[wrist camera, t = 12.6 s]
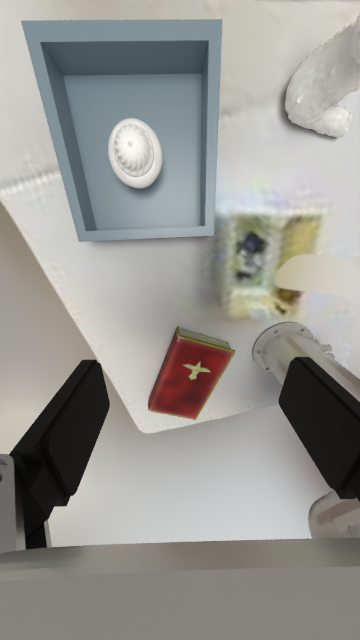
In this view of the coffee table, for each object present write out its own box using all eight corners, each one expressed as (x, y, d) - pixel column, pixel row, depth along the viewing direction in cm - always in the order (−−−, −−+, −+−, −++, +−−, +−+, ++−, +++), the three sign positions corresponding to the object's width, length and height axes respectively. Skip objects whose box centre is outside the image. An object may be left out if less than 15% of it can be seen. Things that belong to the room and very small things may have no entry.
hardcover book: (148, 396, 45) (147, 411, 41) (176, 325, 36) (177, 336, 33) (193, 405, 47) (195, 420, 43) (229, 340, 39) (236, 352, 35)
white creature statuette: (340, 138, 25) (472, 68, 14) (277, 156, 25) (358, 101, 14) (353, 29, 21) (556, -191, 10) (278, 53, 21) (391, -132, 10)
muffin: (107, 145, 23) (84, 112, 17) (153, 126, 22) (147, 85, 16) (128, 200, 26) (115, 190, 19) (169, 184, 25) (169, 169, 19)
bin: (210, 64, 21) (222, 19, 17) (206, 235, 29) (213, 235, 25) (53, 66, 21) (21, 20, 16) (93, 239, 28) (79, 241, 24)
